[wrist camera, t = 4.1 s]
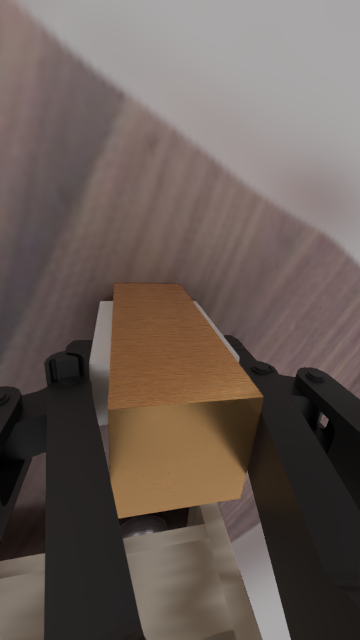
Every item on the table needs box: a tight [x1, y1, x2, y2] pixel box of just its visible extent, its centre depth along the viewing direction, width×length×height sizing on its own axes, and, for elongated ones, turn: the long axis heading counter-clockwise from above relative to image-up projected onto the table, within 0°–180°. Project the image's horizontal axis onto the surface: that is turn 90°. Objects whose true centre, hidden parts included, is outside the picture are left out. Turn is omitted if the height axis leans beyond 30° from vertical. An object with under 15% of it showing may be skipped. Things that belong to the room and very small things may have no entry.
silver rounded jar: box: [120, 515, 168, 539], centre depth 25 cm, size 5×5×2 cm
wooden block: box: [108, 283, 264, 519], centre depth 15 cm, size 4×18×11 cm, turn 176°
